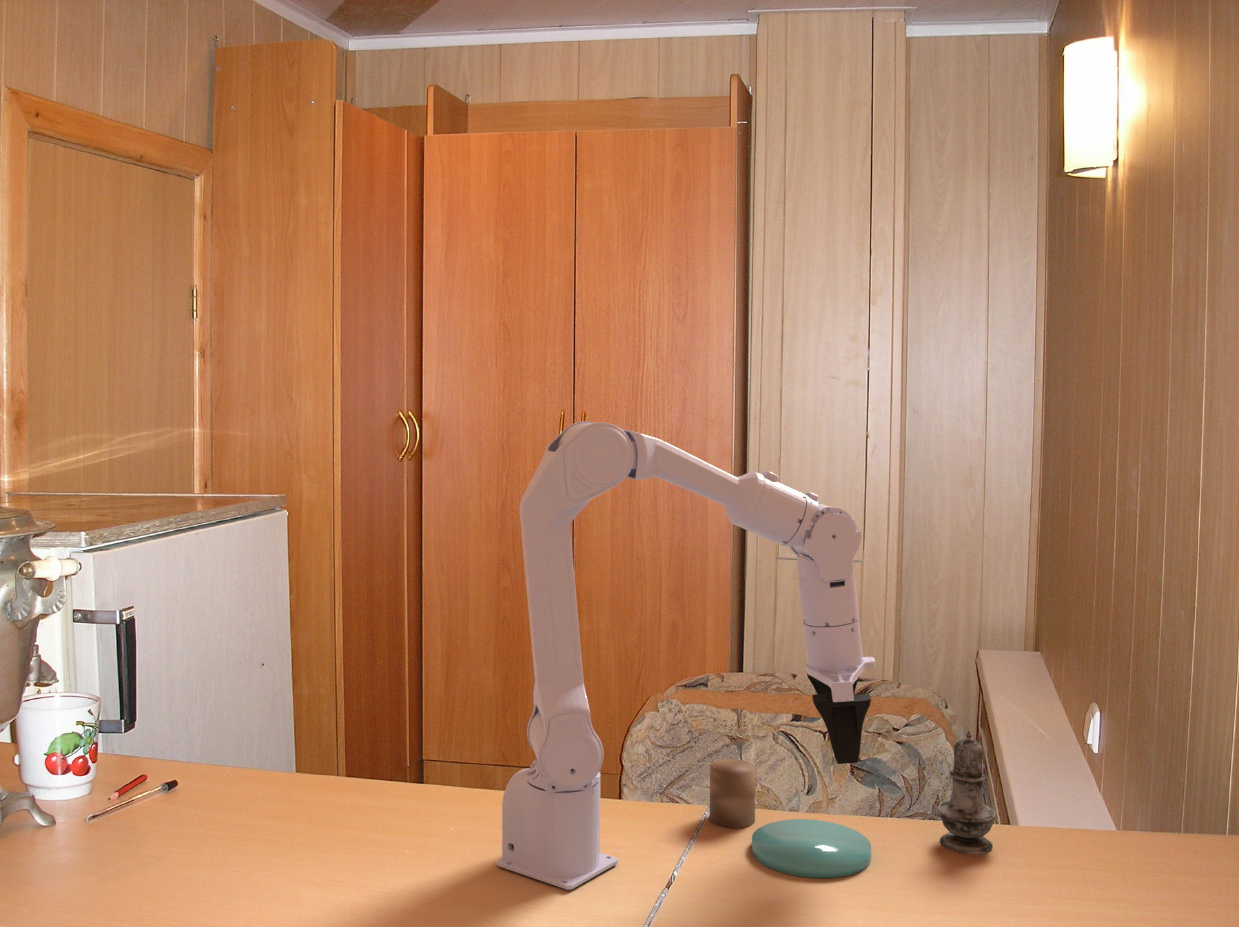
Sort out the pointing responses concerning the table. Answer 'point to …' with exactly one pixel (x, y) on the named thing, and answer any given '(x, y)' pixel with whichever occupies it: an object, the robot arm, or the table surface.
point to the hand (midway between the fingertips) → (843, 748)
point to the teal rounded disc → (811, 848)
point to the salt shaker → (967, 802)
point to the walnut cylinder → (732, 793)
